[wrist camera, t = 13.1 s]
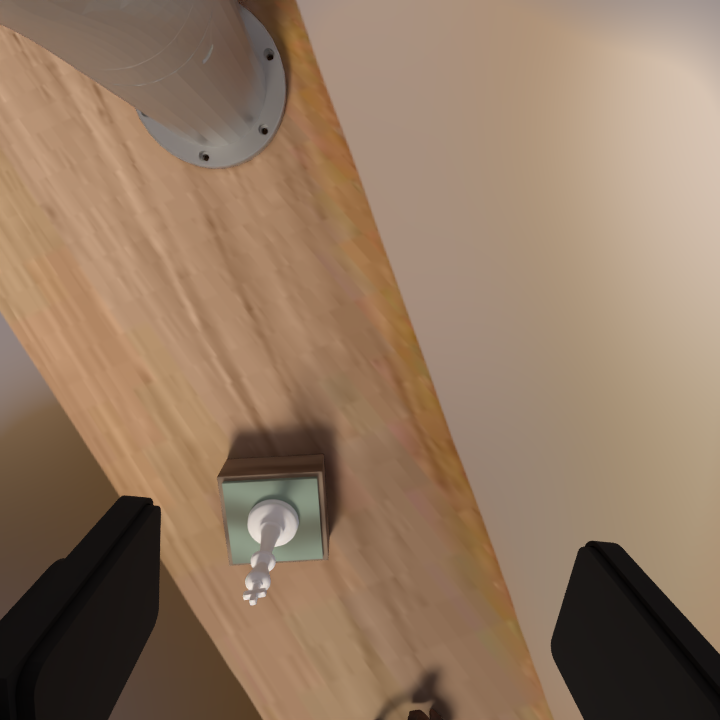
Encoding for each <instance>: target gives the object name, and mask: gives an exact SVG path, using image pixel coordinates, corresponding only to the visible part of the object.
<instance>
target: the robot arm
mask: <svg viewBox="0 0 720 720" xmlns="http://www.w3.org/2000/svg"><path fill="white" fill-rule="evenodd" d="M0 25H3V26H5V27H7V28H9V29H11V30H13V31H15V32H17V33H19V34H21V35H22V36H24V37H26V38H28V39H30V40H32V41H33V42H35V43H36V44H38V45H40V46H41V47H43V48H45V49H46V50H48V51H50V52H51V53H53V54H54V55H56V56H57V57H59V58H60V59H62V60H63V61H65V62H67V63H68V64H70V65H71V66H73V67H74V68H75V69H77V70H78V71H80V72H81V73H83V74H84V75H86V76H87V77H89V78H90V79H92V80H94V81H95V82H97V83H98V84H100V85H101V86H103V87H104V88H106V89H107V90H109V91H110V92H112V93H113V94H115V95H116V96H118V97H119V98H121V99H123V100H124V101H126V102H127V103H129V104H130V105H132V106H133V107H135V109H136V111H137V113H138V116H139V118H140V120H141V122H142V123H143V125H144V126H145V128H146V129H147V131H148V132H149V134H150V135H151V136H152V137H153V138H154V139H155V140H156V141H157V142H158V143H159V144H160V145H161V146H162V147H163V148H164V149H166V150H167V151H168V152H170V153H171V154H172V155H174V156H176V157H177V158H179V159H181V160H183V161H185V162H188V163H190V164H193V165H195V166H199V167H204V168H209V169H225V168H230V167H235V166H239V165H241V164H243V163H245V162H247V161H250V160H251V159H253V158H254V157H255V156H257V155H258V154H260V153H261V152H262V151H263V150H264V149H265V148H266V147H267V145H268V144H269V143H270V142H271V141H272V139H273V138H274V136H275V134H276V132H277V131H278V129H279V127H280V124H281V121H282V118H283V116H284V111H285V105H286V78H285V72H284V67H283V64H282V61H281V57H280V54H279V52H278V50H277V48H276V45H275V43H274V41H273V39H272V37H271V36H270V34H269V33H268V31H267V30H266V28H265V27H264V25H263V24H262V23H261V22H260V21H259V20H258V19H257V18H256V17H255V16H254V15H253V14H252V13H251V12H250V11H249V10H247V9H246V8H244V7H243V6H242V5H240V4H239V3H238V1H237V0H0ZM269 56H273V59H272V60H271V61H268V57H269ZM264 129H267V130H268V133H267V134H266V135H264V134H263V130H264ZM206 155H208V156H209V160H208V161H205V159H204V158H205V156H206ZM160 528H161V509H160V507H159V506H154V505H153V501H152V499H151V498H146V497H136V496H125V495H124V496H121V497H120V498H119V499H118V500H117V501H116V502H115V503H114V505H113V506H112V507H111V508H110V509H109V510H108V511H107V512H106V514H105V515H104V516H103V517H102V518H101V519H100V520H99V521H98V523H97V524H96V525H95V526H94V527H93V528H92V529H91V530H90V531H89V533H88V534H87V535H86V536H85V537H84V538H83V539H82V541H81V542H80V543H79V544H78V545H77V546H76V547H75V548H74V549H73V551H72V552H71V553H70V554H69V555H68V556H67V557H66V558H65V559H64V558H63V559H60V560H57V561H56V562H54V563H53V564H52V565H51V566H50V567H49V568H48V569H47V570H46V571H45V572H44V573H43V574H42V576H41V577H40V578H39V579H38V580H37V581H36V582H35V583H34V585H33V586H32V587H31V588H30V589H29V590H28V591H27V592H26V593H25V594H24V595H23V596H22V597H21V598H20V600H19V601H18V602H17V603H16V604H15V605H14V606H13V607H12V608H11V609H10V610H9V612H8V613H7V614H6V615H5V616H4V617H3V618H2V619H1V620H0V720H108V718H109V716H110V714H111V712H112V710H113V708H114V706H115V704H116V702H117V700H118V698H119V696H120V694H121V692H122V690H123V688H124V686H125V684H126V682H127V680H128V678H129V676H130V674H131V672H132V670H133V668H134V666H135V664H136V662H137V660H138V658H139V656H140V654H141V652H142V650H143V648H144V646H145V644H146V642H147V640H148V638H149V636H150V634H151V632H152V630H153V628H154V626H155V623H156V619H157V616H158V610H159V572H160V571H159V570H160ZM551 652H552V656H553V659H554V661H555V663H556V665H557V667H558V669H559V671H560V673H561V675H562V677H563V679H564V681H565V683H566V685H567V687H568V689H569V691H570V693H571V695H572V697H573V699H574V701H575V703H576V705H577V707H578V708H579V710H580V712H581V715H582V716H583V718H584V720H720V654H719V653H718V652H717V651H716V650H715V649H714V647H712V645H711V644H710V643H709V642H708V641H707V640H706V639H705V638H704V637H703V635H701V633H700V632H699V631H698V630H697V629H696V628H695V627H694V626H693V625H692V623H691V622H690V621H689V620H688V619H687V618H686V617H685V616H684V615H683V614H682V613H681V612H680V610H679V609H678V608H677V607H676V606H675V605H674V604H673V603H672V602H671V601H670V599H669V598H668V597H667V596H666V595H665V594H664V593H663V592H662V591H661V590H660V589H659V587H658V586H657V585H656V584H655V583H654V582H653V581H652V580H651V579H650V578H649V577H648V575H646V573H644V571H643V570H642V569H641V568H640V567H639V566H638V565H637V563H636V562H635V561H634V560H633V559H632V558H631V557H630V556H629V555H628V554H627V553H626V551H625V550H624V549H623V548H622V547H621V546H620V545H618V544H616V543H610V542H599V541H589V542H588V543H586V545H585V547H581V548H580V549H579V551H578V553H577V557H576V560H575V563H574V567H573V570H572V573H571V576H570V580H569V583H568V586H567V590H566V593H565V596H564V599H563V603H562V606H561V610H560V613H559V616H558V620H557V623H556V626H555V629H554V632H553V636H552V639H551Z"/></svg>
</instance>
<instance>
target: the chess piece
mask: <svg viewBox="0 0 720 720" xmlns="http://www.w3.org/2000/svg"><path fill="white" fill-rule="evenodd" d="M298 525H299V519H298V515H297V513H296V511H295V510H294V508H293V507H292V506H291V505H289V504H288V503H286V502H284V501H281V500H276V499H269V500H264V501H262V502H260V503H258V504H256V505H255V506H254V507H253V508H252V510H251V511H250V513H249V516H248V523H247V526H248V531H249V533H250V535H251V537H252V538H253V539H254V540H255V541H257V542H258V543H260V551H257V552H255V553H254V554H253V555H252V557H251V566H252V568H253V569H252V570H251V571H250V572H249V574H248V575H247V577H246V579H245V584H246V587H247V588H248V589H249V591H244V593H243V598H244V600H248V599H249V602H250V605H255V604H256V603H257V599H258V598H260V597H266V593H267V592H266V590H267V589H268V588H269V586H270V583H271V579H270V575H269V571H271V570H272V569H273V568H274V566H275V564H276V559H275V556H274V555H273V554H272V551H273V549H274V547H277V546H281V545H284V544H286V543H288V542H289V541H290V540H291V539H292V538H293V537H294V536H295V534H296V531H297V529H298Z"/></svg>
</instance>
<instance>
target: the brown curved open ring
mask: <svg viewBox="0 0 720 720" xmlns="http://www.w3.org/2000/svg"><path fill="white" fill-rule="evenodd" d="M429 714H430V719H429V718H428V716H427V715H426V714H425V713H424V712H423V711H421V710H413V711H410V712H409V716H408V720H443V719H442V717H441V716H440V715H439V714H438V713H437V712H436V711H434V710H433V709H430V711H429Z"/></svg>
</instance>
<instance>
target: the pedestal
mask: <svg viewBox="0 0 720 720" xmlns="http://www.w3.org/2000/svg"><path fill="white" fill-rule="evenodd" d="M217 480H218V487H219V494H220V501H221V508H222V515H223V522H224V530H225V537H226V544H227V551H228V558H229V565H230V566H232V565H249V564H251V557H252V555H253V554H254V553H255V552H257V551H260V543H258V542H257V541H255V540H254V539H253V538H252V537H251V535H250V533H249V531H248V526H247V523H248V516H249V513H250V511H251V510H252V508H253V507H254V506H255V505H256V504H258V503H260V502H262V501H264V500H269V499H276V500H281V501H284V502H286V503H288V504H289V505H291V506H292V507H293V508H294V510H295V511H296V513H297V515H298V519H299V525H298V529H297V531H296V534H295V536H294V537H293V538H292V539H291V540H290V541H289V542H288V543H286V544H284V545H281V546H277V547H274V549H273V551H272V554H273V555H274V556H275V559H276V563H283V562H300V561H318V560H328V555H329V523H328V508H327V494H326V479H325V465H324V454H316V455H297V456H278V457H259V458H240V459H227V460H226V462H225V464H224V466H223V467H222V469H221V471H220V473H219V475H218V477H217Z"/></svg>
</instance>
